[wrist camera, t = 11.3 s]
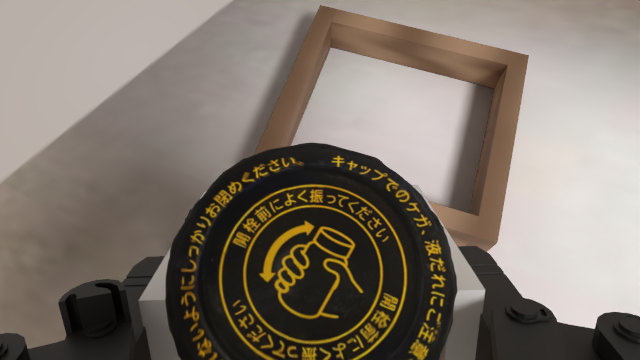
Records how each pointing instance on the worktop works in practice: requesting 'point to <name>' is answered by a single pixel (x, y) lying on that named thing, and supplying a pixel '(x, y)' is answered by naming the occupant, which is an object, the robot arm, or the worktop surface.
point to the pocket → (427, 55)
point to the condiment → (310, 263)
